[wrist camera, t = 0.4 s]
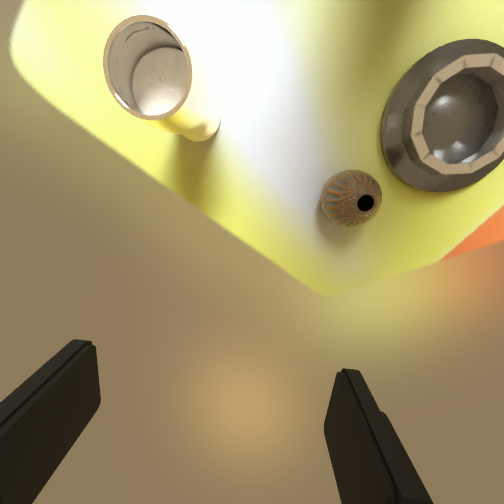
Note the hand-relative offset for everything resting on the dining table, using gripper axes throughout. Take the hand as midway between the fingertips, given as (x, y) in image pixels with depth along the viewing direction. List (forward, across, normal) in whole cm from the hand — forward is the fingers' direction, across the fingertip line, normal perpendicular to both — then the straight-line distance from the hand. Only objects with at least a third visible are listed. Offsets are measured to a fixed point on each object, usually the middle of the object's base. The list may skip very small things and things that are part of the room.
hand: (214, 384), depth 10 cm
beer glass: (+28, +8, -14) cm, 33 cm away
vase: (+28, -12, -6) cm, 32 cm away
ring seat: (+28, -24, -17) cm, 41 cm away
